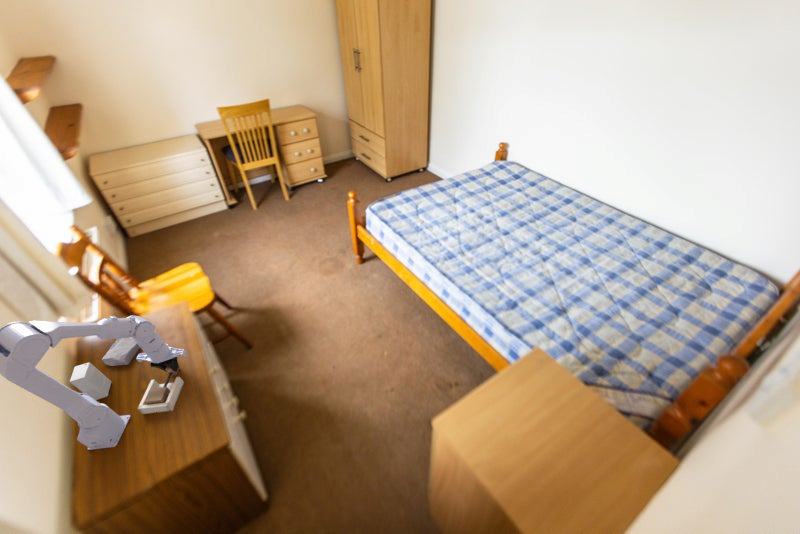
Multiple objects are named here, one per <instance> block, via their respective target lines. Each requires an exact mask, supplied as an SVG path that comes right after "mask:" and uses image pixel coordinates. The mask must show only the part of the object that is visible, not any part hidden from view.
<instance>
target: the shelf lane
mask: <svg viewBox="0 0 800 534" xmlns="http://www.w3.org/2000/svg"><path fill="white" fill-rule="evenodd" d="M174 379H175V380H174V382H168V384H167V388H168V389H169V390H170V393H169V395H168V398H167V400H166V402H165V403H159V404H150V405H147V404H146V403H145V402H144V401H145V399H146V397H147V395H148V393H149V391H150V389H152V388H161V387H164V384H165V383H159V382H157V381H156V379H151V380H150V382H149V383H148V386H147V387H146V388H147V389H146V390H145V392H144V394H143V397H142V399H141V401H140V402H139V405H138V407H137V410H138V411H139V412H140V413H141V414H143V415H147V414H157V413H165V412H173V411H174V409H175V406H176V403H177V401H178V399H179V397H180V394H181V392H182V389H183V386H184V384H185V381H184V380H183V379H182V378H181V377H180V376H176V378H174ZM156 412H157V413H156Z"/></svg>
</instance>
